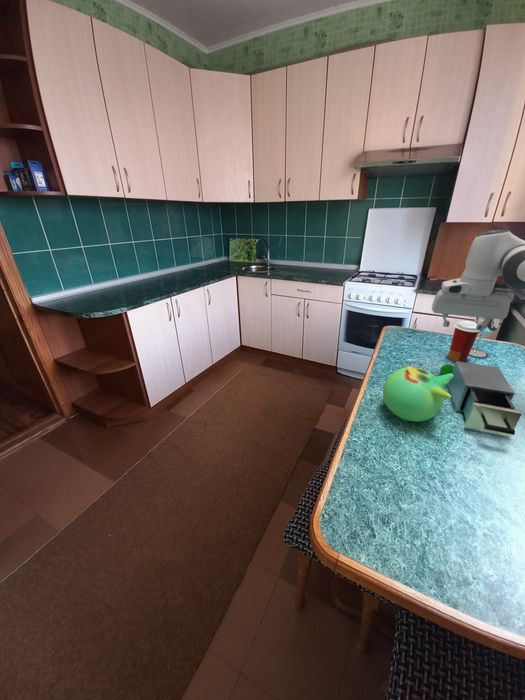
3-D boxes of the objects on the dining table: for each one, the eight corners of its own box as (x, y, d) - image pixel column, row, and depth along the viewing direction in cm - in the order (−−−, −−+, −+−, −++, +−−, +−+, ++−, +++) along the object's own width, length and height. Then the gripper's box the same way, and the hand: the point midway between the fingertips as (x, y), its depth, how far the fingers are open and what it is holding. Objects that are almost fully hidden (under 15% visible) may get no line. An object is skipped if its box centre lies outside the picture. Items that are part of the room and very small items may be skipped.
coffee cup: (467, 356, 117) (479, 321, 110) (470, 365, 111) (483, 329, 104) (443, 352, 120) (454, 318, 113) (445, 361, 114) (456, 326, 107)
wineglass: (459, 349, 122) (474, 304, 113) (475, 347, 123) (492, 302, 114) (474, 358, 115) (492, 311, 106) (491, 356, 117) (510, 309, 107)
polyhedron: (447, 381, 101) (451, 370, 99) (435, 375, 105) (438, 363, 103) (457, 378, 103) (461, 367, 101) (445, 372, 107) (448, 360, 105)
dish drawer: (517, 450, 72) (530, 427, 69) (469, 440, 76) (479, 417, 72) (495, 406, 88) (504, 384, 84) (455, 399, 91) (463, 378, 88)
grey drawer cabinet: (502, 419, 84) (514, 392, 79) (456, 411, 88) (465, 384, 83) (487, 391, 96) (498, 367, 91) (447, 385, 100) (455, 361, 95)
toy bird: (386, 389, 98) (394, 351, 91) (443, 405, 90) (456, 364, 83) (373, 420, 85) (382, 378, 78) (439, 442, 77) (455, 397, 70)
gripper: (512, 286, 88) (496, 328, 95) (437, 281, 95) (426, 321, 101) (520, 292, 83) (503, 336, 89) (439, 286, 90) (428, 327, 96)
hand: (461, 328), depth 95 cm, fingers open, 8 cm apart
